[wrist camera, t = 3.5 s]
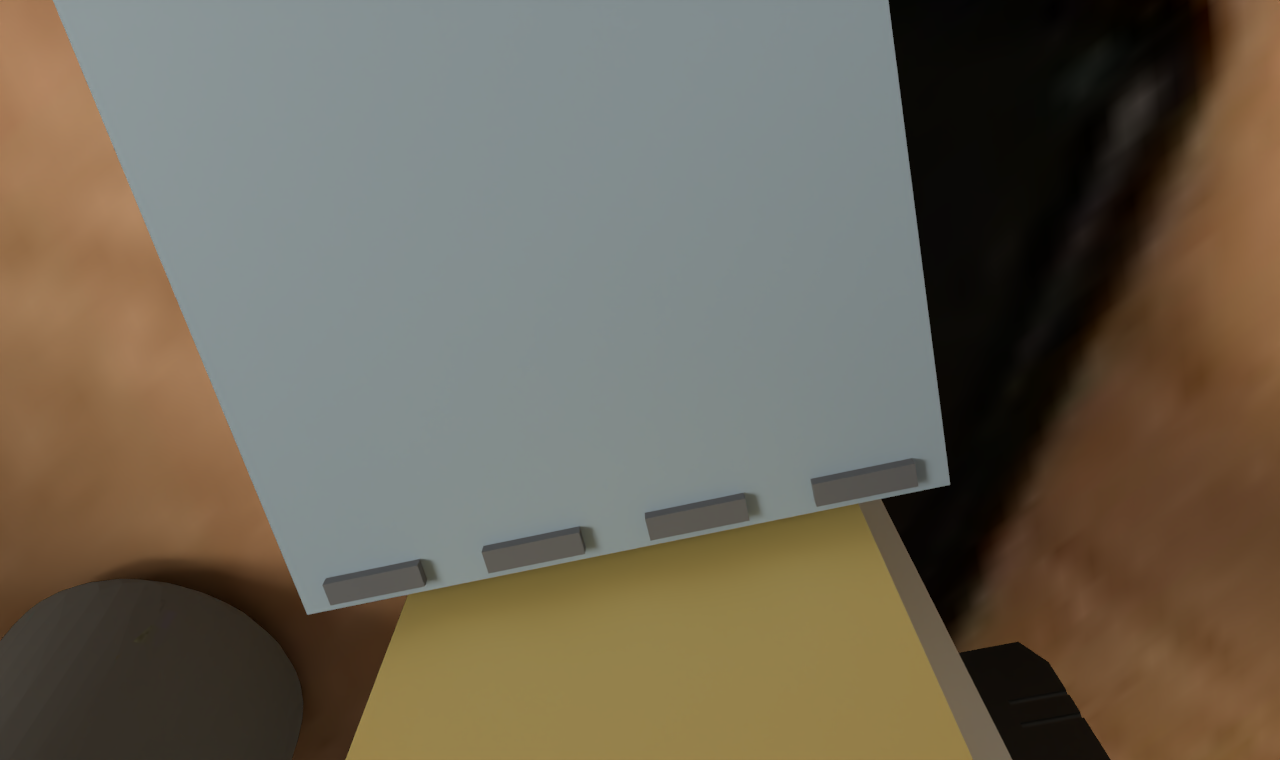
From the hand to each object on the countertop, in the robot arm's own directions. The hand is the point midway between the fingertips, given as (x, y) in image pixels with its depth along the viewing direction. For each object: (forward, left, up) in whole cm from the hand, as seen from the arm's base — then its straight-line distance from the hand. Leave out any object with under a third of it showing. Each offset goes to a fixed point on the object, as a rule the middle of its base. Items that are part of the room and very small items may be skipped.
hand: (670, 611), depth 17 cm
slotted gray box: (-11, 0, -2) cm, 12 cm away
